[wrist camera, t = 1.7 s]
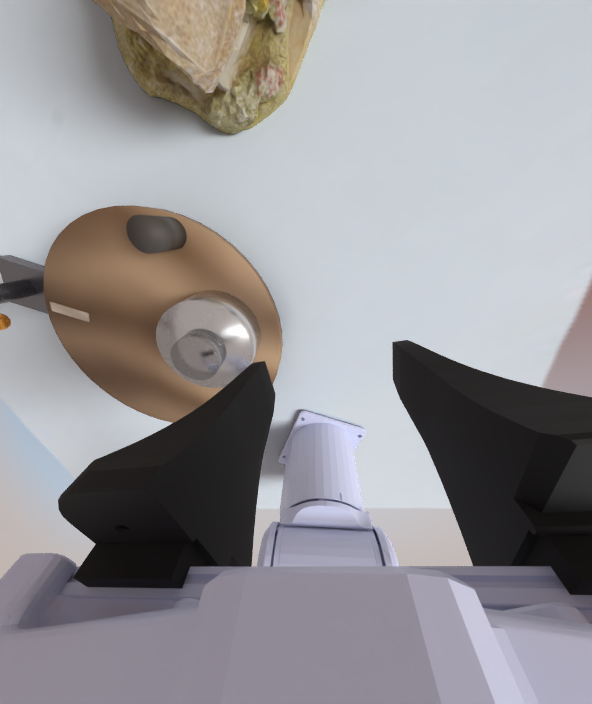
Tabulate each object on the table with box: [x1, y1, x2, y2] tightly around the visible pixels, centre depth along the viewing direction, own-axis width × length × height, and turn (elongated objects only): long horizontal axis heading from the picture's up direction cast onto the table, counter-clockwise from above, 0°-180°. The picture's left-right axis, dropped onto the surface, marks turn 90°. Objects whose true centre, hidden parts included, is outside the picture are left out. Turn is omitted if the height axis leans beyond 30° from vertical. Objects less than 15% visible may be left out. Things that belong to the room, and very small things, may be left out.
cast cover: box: [156, 290, 261, 388], centre depth 17 cm, size 7×7×5 cm
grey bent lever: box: [0, 255, 48, 330], centre depth 18 cm, size 4×6×7 cm, turn 72°
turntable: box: [44, 206, 282, 423], centre depth 19 cm, size 20×20×4 cm
